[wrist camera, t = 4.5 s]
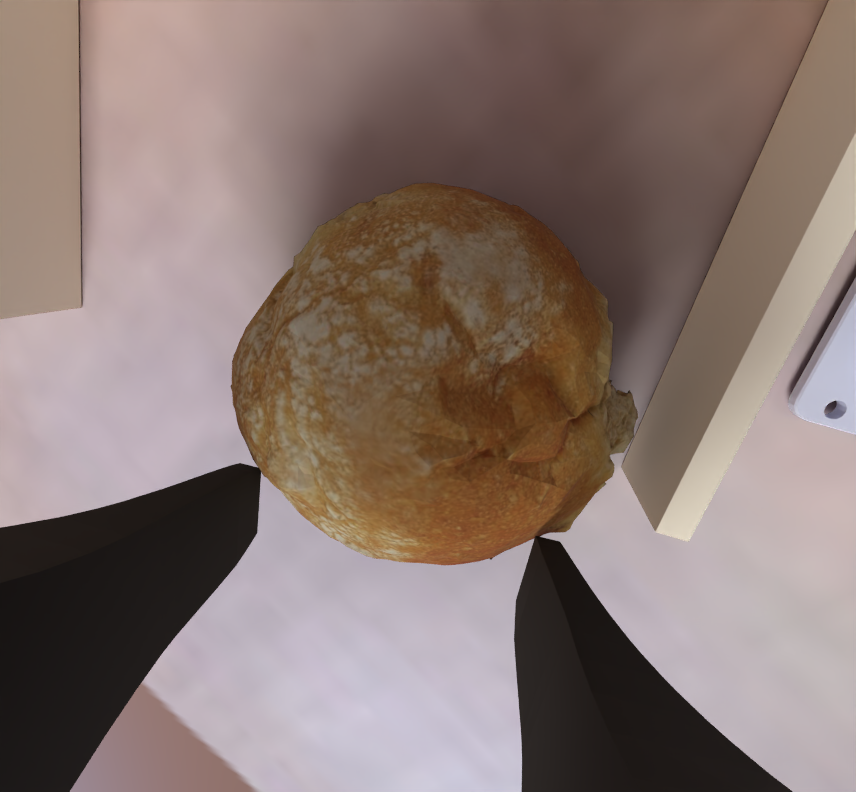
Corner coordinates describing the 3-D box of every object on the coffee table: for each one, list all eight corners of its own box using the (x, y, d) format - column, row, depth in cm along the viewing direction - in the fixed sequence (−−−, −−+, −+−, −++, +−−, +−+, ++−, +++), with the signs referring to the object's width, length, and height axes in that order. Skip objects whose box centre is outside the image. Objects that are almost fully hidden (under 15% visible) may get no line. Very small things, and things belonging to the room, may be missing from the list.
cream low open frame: (916, -101, 10) (1129, -282, 6) (646, 474, 14) (688, 542, 11) (45, -273, 11) (-148, -491, 8) (60, 301, 16) (-57, 315, 13)
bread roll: (462, 178, 16) (286, 18, 9) (729, 367, 12) (785, 346, 5) (322, 395, 19) (114, 401, 12) (498, 594, 16) (346, 765, 9)
